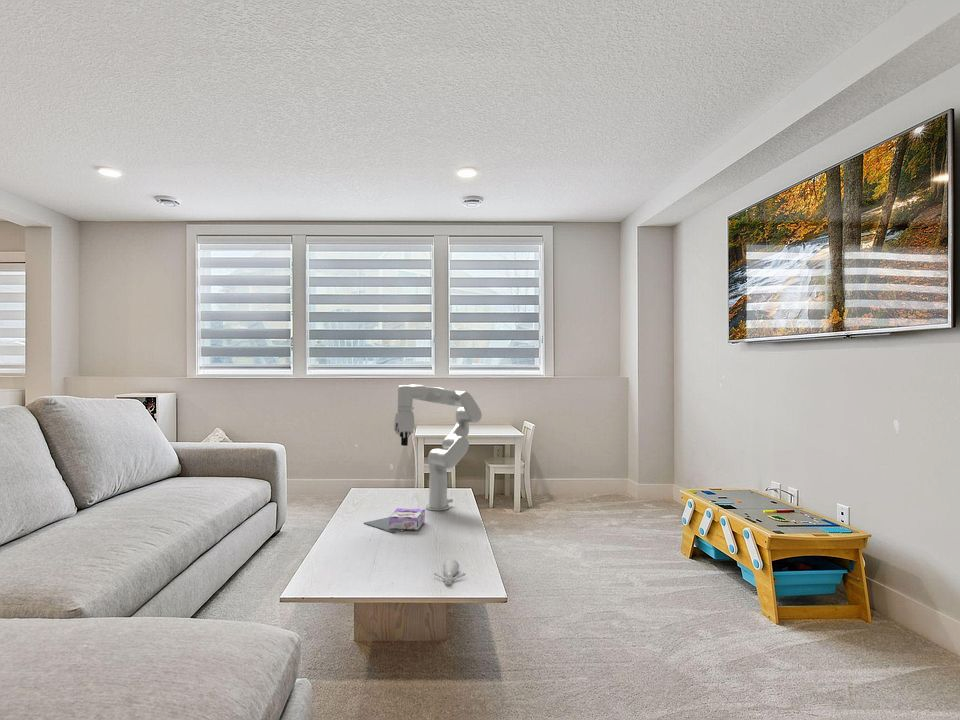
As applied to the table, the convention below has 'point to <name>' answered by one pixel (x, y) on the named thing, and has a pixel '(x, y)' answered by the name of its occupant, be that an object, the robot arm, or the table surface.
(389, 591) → the table surface
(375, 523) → the mat
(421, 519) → the candy box
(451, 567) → the grey legged figure
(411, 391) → the robot arm
